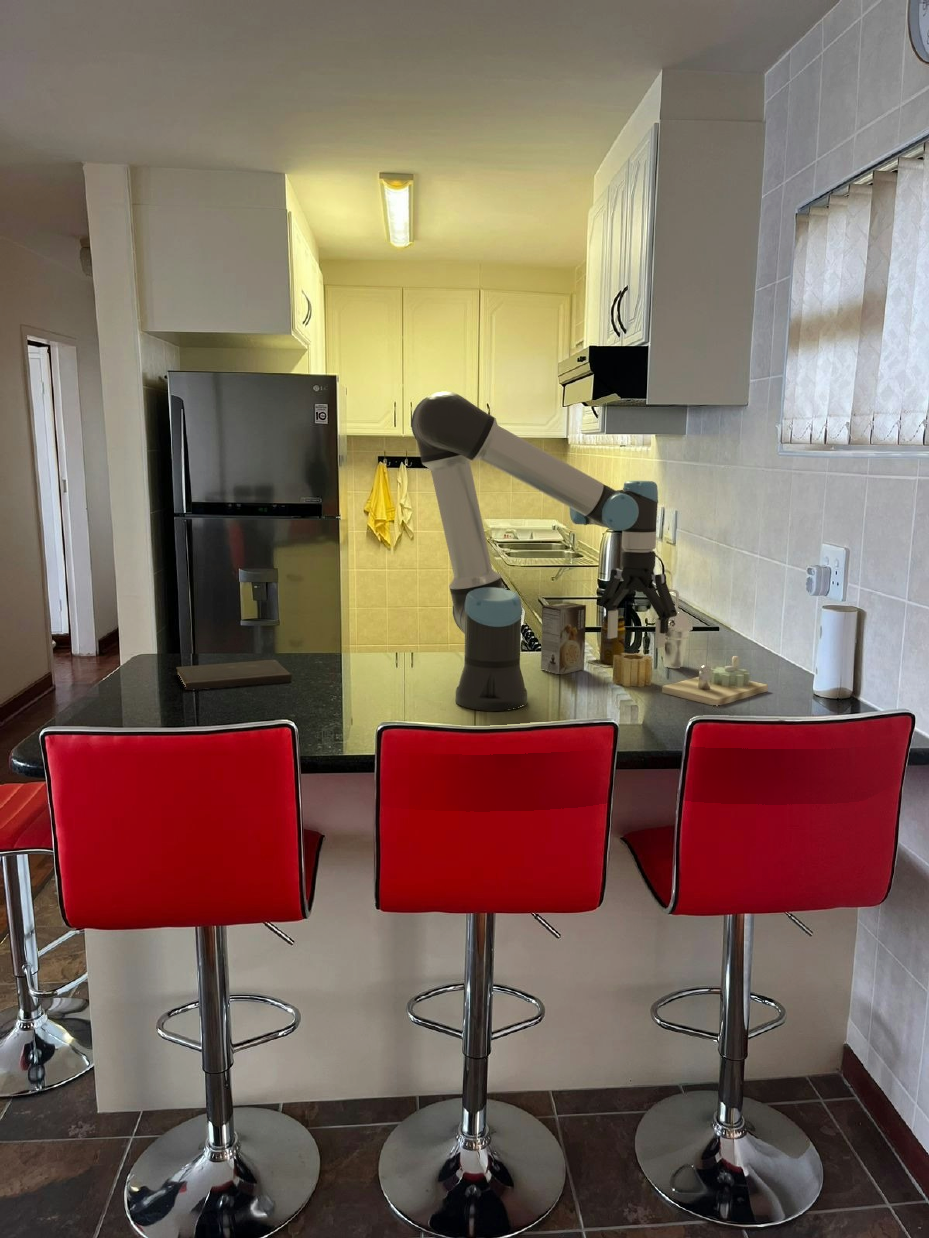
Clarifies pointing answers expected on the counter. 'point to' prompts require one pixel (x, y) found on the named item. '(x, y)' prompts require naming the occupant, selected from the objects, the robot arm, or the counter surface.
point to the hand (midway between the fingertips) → (635, 642)
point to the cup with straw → (676, 638)
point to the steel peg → (704, 677)
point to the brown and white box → (563, 637)
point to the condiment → (610, 644)
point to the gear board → (713, 691)
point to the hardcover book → (233, 674)
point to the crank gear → (730, 675)
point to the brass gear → (632, 669)
